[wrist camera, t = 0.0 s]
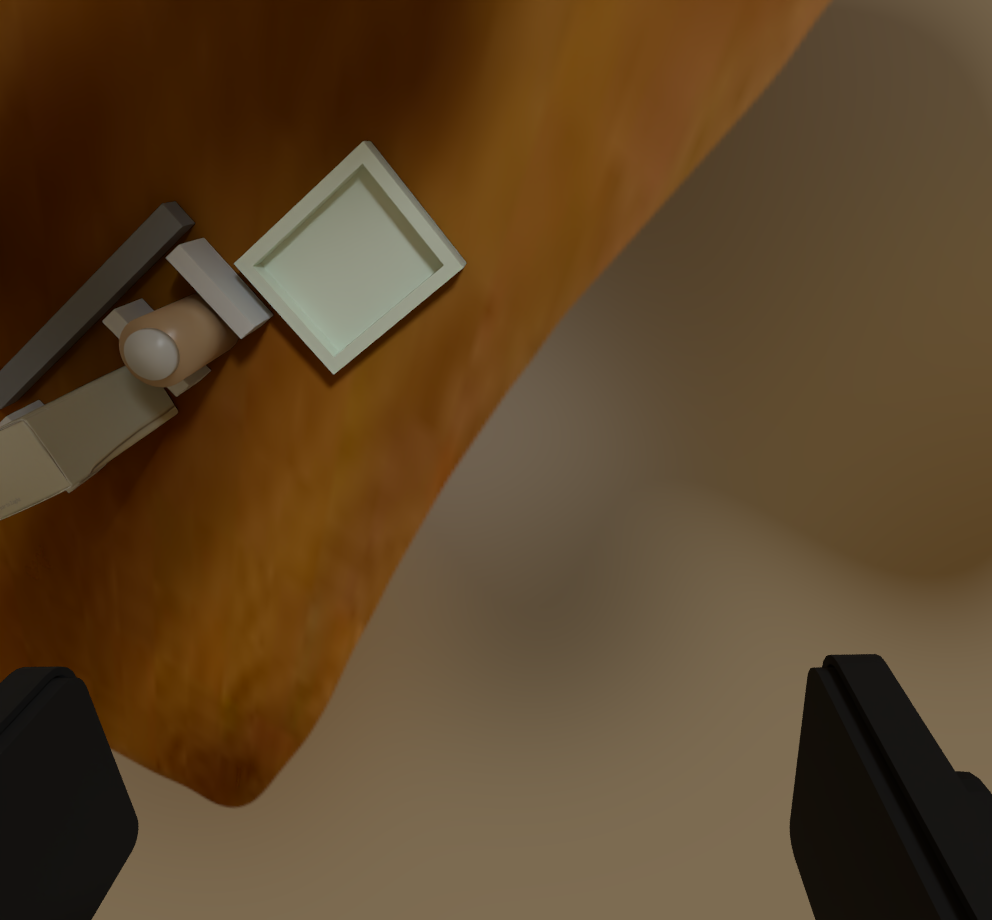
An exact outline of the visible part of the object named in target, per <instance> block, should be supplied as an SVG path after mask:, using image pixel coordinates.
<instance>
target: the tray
mask: <svg viewBox="0 0 992 920" xmlns="http://www.w3.org/2000/svg"><path fill="white" fill-rule="evenodd" d="M234 265H235V266H236V267H237V268H238V269H239V270H240V271H241V272H242V273H243V275H244V276H245V277H246V278H247V279H248V280H249V281H250V282H251V284H252V285H253V286H254V287H255V288H256V289H257V290H258V291H259V292H260V294H261V295H262V296H263V297H264V298H265V299H266V300H267V301H268V302H269V304H270V305H271V306H272V307H273V308H274V309H275V310H276V311H277V312H278V314H279V315H280V316H281V317H282V318H283V319H284V320H285V321H286V322H287V324H288V325H289V326H290V327H291V328H292V329H293V330H294V331H295V332H296V334H297V335H298V336H299V337H300V338H301V339H302V340H303V341H304V342H305V344H306V345H307V346H308V347H309V348H310V349H311V350H312V351H313V352H314V354H315V355H316V356H317V357H318V358H319V359H320V360H321V361H322V362H323V364H324V365H325V366H326V367H327V368H328V369H329V370H330V371H331V372H332V374H333V375H334V374H335V373H336V372H338V371H339V370H340V369H341V368H343V367H344V366H345V365H346V364H347V363H349V362H350V361H351V360H352V359H353V358H355V357H356V356H357V355H358V354H360V353H361V352H362V351H363V350H364V349H366V348H367V347H368V346H369V345H370V344H372V343H373V342H374V341H375V340H376V339H378V338H379V337H380V336H381V335H383V334H384V333H385V332H386V331H387V330H389V329H390V328H391V327H392V326H393V325H395V324H396V323H397V322H398V321H399V320H401V319H402V318H403V317H404V316H406V315H407V314H408V313H409V312H410V311H412V310H413V309H414V308H415V307H416V306H418V305H419V304H420V303H421V302H423V301H424V300H425V299H426V298H427V297H429V296H430V295H431V294H432V293H433V292H435V291H436V290H437V289H438V288H439V287H441V286H442V285H443V284H444V283H446V282H447V281H448V280H449V279H450V278H452V277H453V276H454V275H455V274H456V273H458V272H459V271H460V270H461V269H463V268H464V266H465V265H466V261H465V260H464V259H463V258H462V256H461V255H460V254H459V252H458V251H457V250H456V249H455V247H454V246H453V245H452V244H451V242H450V241H449V240H448V239H447V237H446V236H445V235H444V233H443V232H442V231H441V230H440V228H439V227H438V226H437V225H436V223H435V222H434V221H433V219H432V218H431V217H430V216H429V214H428V213H427V212H426V211H425V209H424V208H423V207H422V206H421V204H420V203H419V202H418V200H417V199H416V198H415V197H414V195H413V194H412V193H411V192H410V190H409V189H408V188H407V186H406V185H405V184H404V183H403V181H402V180H401V179H400V178H399V176H398V175H397V174H396V173H395V171H394V170H393V169H392V167H391V166H390V165H389V164H388V162H387V161H386V160H385V159H384V157H383V156H382V155H381V153H380V152H379V151H378V150H377V148H376V147H375V146H374V145H373V143H372V142H371V141H363V142H362V143H361V144H360V145H359V146H358V147H357V148H355V149H354V150H353V151H352V152H351V153H350V154H349V155H348V156H347V157H346V158H345V159H344V160H343V161H342V162H341V163H340V164H339V165H338V166H336V167H335V168H334V169H333V170H332V171H331V172H330V173H329V174H328V175H327V176H326V177H325V178H324V179H323V180H322V181H321V182H320V183H319V184H317V185H316V186H315V187H314V188H313V189H312V190H311V191H310V192H309V193H308V194H307V195H306V196H305V197H304V198H303V199H302V200H301V201H300V202H298V203H297V204H296V205H295V206H294V207H293V208H292V209H291V210H290V211H289V212H288V213H287V214H286V215H285V216H284V217H283V218H282V219H281V220H279V221H278V222H277V223H276V224H275V225H274V226H273V227H272V228H271V229H270V230H269V231H268V232H267V233H266V234H265V235H264V236H263V237H262V238H261V239H259V240H258V241H257V242H256V243H255V244H254V245H253V246H252V247H251V248H250V249H249V250H248V251H247V252H246V253H245V254H244V255H243V256H242V257H240V258H239V259H238V260H237V261H236V262H235V263H234Z"/></svg>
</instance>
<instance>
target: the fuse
mask: <svg viewBox="0 0 992 920" xmlns="http://www.w3.org/2000/svg"><path fill="white" fill-rule="evenodd" d="M238 339H239V336H238V335H237V334H236V333H235V332H234V331H233V330H232V329H231V328H230V327H229V326H228V324H227V323H226V322H225V321H224V320H223V319H222V318H221V317H220V316H219V315H218V314H217V313H216V312H215V310H214V309H213V308H212V307H211V306H210V305H209V304H208V303H207V302H206V301H205V300H204V299H203V298H202V296H201V295H200V294H199V293H195V294H192V295H190V296H187V297H185V298H183V299H180V300H178V301H176V302H173V303H171V304H169V305H166V306H164V307H162V308H160V309H157V310H155V311H153V312H150V313H148V314H146V315H143V316H141V317H139V318H136V319H134V320H132V321H130V322H129V323H128V324H127V325H126V326H125V327H124V329H123V330H122V332H121V335H120V339H119V350H120V355H121V358H122V360H123V362H124V364H125V366H126V367H127V369H128V370H129V371H130V372H131V373H132V374H133V375H134V376H135V377H136V378H137V379H139V380H140V381H142V382H144V383H146V384H148V385H151V386H154V387H170V386H173V385H176V384H177V383H179V382H181V381H182V380H184V379H185V378H187V377H188V376H190V375H191V374H193V373H195V372H196V371H198V370H199V369H201V368H202V367H204V366H205V365H207V364H208V363H210V362H211V361H213V360H214V359H216V358H218V357H219V356H221V355H222V354H224V353H225V352H227V351H228V350H230V349H231V348H232V347H233V346H234V345H235V344H236V343H237V341H238Z"/></svg>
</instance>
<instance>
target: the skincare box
mask: <svg viewBox="0 0 992 920" xmlns="http://www.w3.org/2000/svg"><path fill="white" fill-rule="evenodd" d="M176 414H178V410H177V409H176V407H175V405H174V404H173V402H172V400H171V399H170V397H169V396H168V394H167V392H166V391H165V389H164V388H163V387H154V386H151V385H148V384H146V383H144V382H142V381H140V380H139V379H137V378H136V377H135V376H134V375H133V374H132V373H131V372H130V371H129V370H128V369H127V367H126V366H124V367H121V368H119V369H117V370H115V371H113V372H111V373H108V374H106V375H104V376H102V377H100V378H98V379H96V380H94V381H92V382H90V383H88V384H86V385H84V386H82V387H80V388H78V389H76V390H74V391H72V392H70V393H68V394H66V395H64V396H62V397H60V398H58V399H56V400H54V401H52V402H49V403H47V404H45V405H43V406H41V407H39V408H37V409H35V410H33V411H31V412H29V413H27V414H25V415H23V416H21V417H19V418H17V419H15V420H13V421H11V422H9V423H7V424H5V425H3V426H1V427H0V520H2V519H5V518H7V517H9V516H12V515H14V514H16V513H19V512H21V511H23V510H25V509H28V508H30V507H32V506H34V505H36V504H39V503H41V502H43V501H45V500H47V499H49V498H51V497H53V496H55V495H57V494H59V493H62V492H63V491H65V490H67V489H69V488H71V487H73V486H74V485H76V484H77V483H78V482H80V481H81V480H83V479H84V478H86V477H87V476H89V475H90V474H91V473H93V472H94V471H96V470H97V469H99V468H100V467H102V466H103V465H105V464H106V463H107V462H109V461H110V460H112V459H113V458H115V457H116V456H118V455H119V454H121V453H122V452H123V451H125V450H126V449H128V448H129V447H131V446H132V445H134V444H135V443H136V442H138V441H139V440H141V439H142V438H144V437H145V436H147V435H148V434H149V433H151V432H152V431H154V430H155V429H157V428H158V427H159V426H161V425H162V424H164V423H165V422H166V421H168V420H169V419H171V418H172V417H173V416H175V415H176Z"/></svg>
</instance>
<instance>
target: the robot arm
mask: <svg viewBox="0 0 992 920" xmlns="http://www.w3.org/2000/svg"><path fill="white" fill-rule="evenodd" d="M137 835H138V820H137V816H136V814H135V811H134V808H133V806H132V803H131V801H130V798H129V795H128V793H127V790H126V788H125V785H124V783H123V780H122V777H121V775H120V773H119V770H118V767H117V764H116V762H115V759H114V757H113V754H112V752H111V749H110V746H109V744H108V741H107V739H106V736H105V734H104V731H103V728H102V726H101V723H100V721H99V718H98V715H97V713H96V710H95V708H94V705H93V703H92V700H91V697H90V695H89V692H88V690H87V687H86V685H85V683H84V682H83V681H82V680H81V679H80V678H76V676H75V674H74V673H73V671H71V670H70V669H69V668H67V667H23V668H19V669H16V670H15V671H13V672H12V673H11V674H9V675H8V676H7V677H6V678H5V679H4V680H3V681H2V682H1V683H0V920H91V919H92V918H93V916H94V914H95V913H96V911H97V909H98V908H99V906H100V904H101V903H102V901H103V899H104V897H105V896H106V894H107V892H108V891H109V889H110V887H111V886H112V884H113V882H114V880H115V879H116V877H117V875H118V874H119V872H120V870H121V869H122V867H123V865H124V864H125V862H126V860H127V859H128V857H129V855H130V853H131V852H132V850H133V848H134V846H135V843H136V840H137ZM790 838H791V845H792V849H793V853H794V857H795V860H796V863H797V866H798V869H799V872H800V875H801V878H802V881H803V884H804V887H805V890H806V893H807V896H808V899H809V902H810V905H811V908H812V911H813V914H814V917H815V919H816V920H992V794H991V792H990V791H989V790H988V789H987V787H986V786H985V785H984V784H983V783H982V781H981V780H980V779H979V778H977V777H976V776H974V775H973V774H971V773H970V772H960V771H954V769H953V767H952V766H951V764H950V763H949V761H948V759H947V758H946V756H945V755H944V753H943V752H942V750H941V749H940V747H939V745H938V744H937V742H936V741H935V739H934V738H933V736H932V734H931V733H930V731H929V730H928V728H927V726H926V725H925V723H924V722H923V721H922V719H921V717H920V716H919V714H918V713H917V711H916V709H915V708H914V706H913V705H912V703H911V701H910V700H909V698H908V697H907V695H906V694H905V692H904V690H903V689H902V687H901V686H900V684H899V683H898V681H897V680H896V678H895V676H894V675H893V673H892V672H891V670H890V668H889V667H888V665H887V664H886V662H885V661H884V660H883V659H882V657H881V656H879V655H876V654H861V655H860V654H859V655H828V656H826V658H825V659H824V661H823V666H822V667H820V668H810V670H809V673H808V677H807V685H806V693H805V702H804V710H803V718H802V727H801V735H800V743H799V751H798V759H797V768H796V776H795V784H794V793H793V802H792V809H791V817H790Z"/></svg>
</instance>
